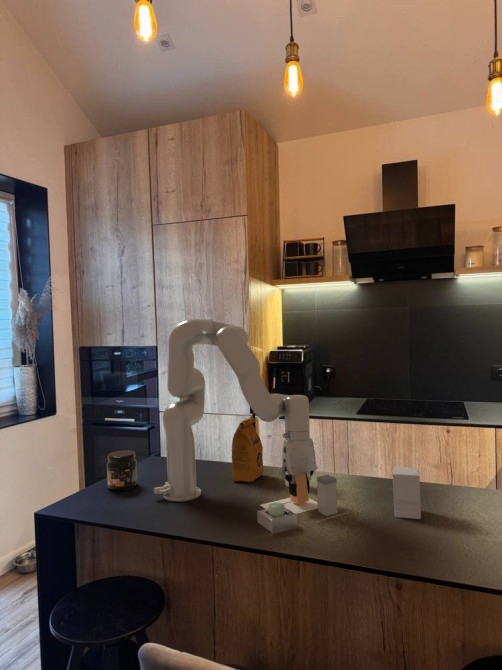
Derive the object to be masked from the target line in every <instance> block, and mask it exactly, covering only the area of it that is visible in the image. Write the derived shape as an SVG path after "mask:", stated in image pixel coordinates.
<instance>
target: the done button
mask: <svg viewBox="0 0 502 670" xmlns="http://www.w3.org/2000/svg"><path fill="white" fill-rule="evenodd" d="M269 515H270V516H271V517H273V518H275V517H279V516H283V515H285V513H284V504H282V503H272V504H269Z"/></svg>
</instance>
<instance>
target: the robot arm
mask: <svg viewBox="0 0 502 670" xmlns="http://www.w3.org/2000/svg"><path fill="white" fill-rule="evenodd" d="M248 343H249V337H248V333H247V331H246V330H245V329H244V328H242V327H241V326H238V325H233V324H229V323H224V322H220V321H215V320H212V319H203V318H202V319H200V318H192V319H191V318H190V319H187V320H185V321H181V322H180V323H178V324H177V325H176V326H174V328H173V329H172V330H171V332H170V334H169V337H168V362H167V391H168V393H169V394H170V395H171V396H172V397H174V398H176V399H179V400H178V401H175V402H173V403H170V404H169V405H168V406H167V407H166V408H165V410H164V411H163V415H162V425H163V429H164V434H165V446H166V448H165V449H166V469H167V471H166V473H167V481H165V482H164V484H163V485H162V486H157V487H154V488H153V493H154V495H156V494H159V495H163V498H164V500H167V501H169V502H187V501H191V500H194V499H197V498H199V497H200V496H201V495H202V489H201V488H200V487H197V471H196V469H197V468H196V467H197V466H196V447H195V446H196V445H195V444H196V442H195V436H194V435H195V434H194V433H193V429H192V426H195V425H196V424H198V423H199V422H200V421H201V420H202V419H203V417H204V412H205V393H206V392H205V391H206V381H205V377H204V375H203V373H202V372H201V371H200V370H199V369H198V368H195V367H194V365H195V355H194V351H193V347H194V346H196V345H197V346H198V345H210V346H214V347H217V348H218V349H219V351H220V352H221V355H222V356H223V357H224V359H225V360H226V362H227V363H228V365H229V367H231V369H232V371H233V372H234V374H235V376H236V377H237V380H238V384H239V387H240V389H241V393H242V394H243V396H244V398H245V401H246V402H247V404H248V405H249V407H250V408H251V410H252V411H253V412H254V414H255V415H256V416H257V418H258V419H259V420H261V421H263V422H265V423H271V422H274V421H276V420H277V419H278V418H280V417H284V429H285V430H284V433H282V438H283V442H284V444H283V451H282V450H281V452H282V453H281V454H282V456H281V468H280V470H279V472H278V475H279V476H280V477H282V478H284V480H285V479H286V480H287V481H288V482H289V487H288V493H289V495H290V494H291V495H293V496H294V497H295V496H297V484H296V483H295V477H296V474H301V473H306V480H307V481H306V482H307V489H308V494H310V488H311V487H310V481H311V479H312V476H313V475H314V473H315V472H316V471H317V470H318V469H319V465H317V460H316V459H317V458H316V451H315V446H314V441H313V438H312V437H311V435H310V434H311V433H310V405H309V404H310V403H309V398H308V396H306V395H304V394H292V395H291V394H290V395H288V394H281V393H270V392H269V391H268V389H267V387H266V385H265V383H264V382H263V379H262V376H261V363H260V361H259V359H258V358H257V356H256V355H255V353H254V352H253V351H252V349H251V348H250V346H249V345H248ZM286 472H288V474H286Z"/></svg>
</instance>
